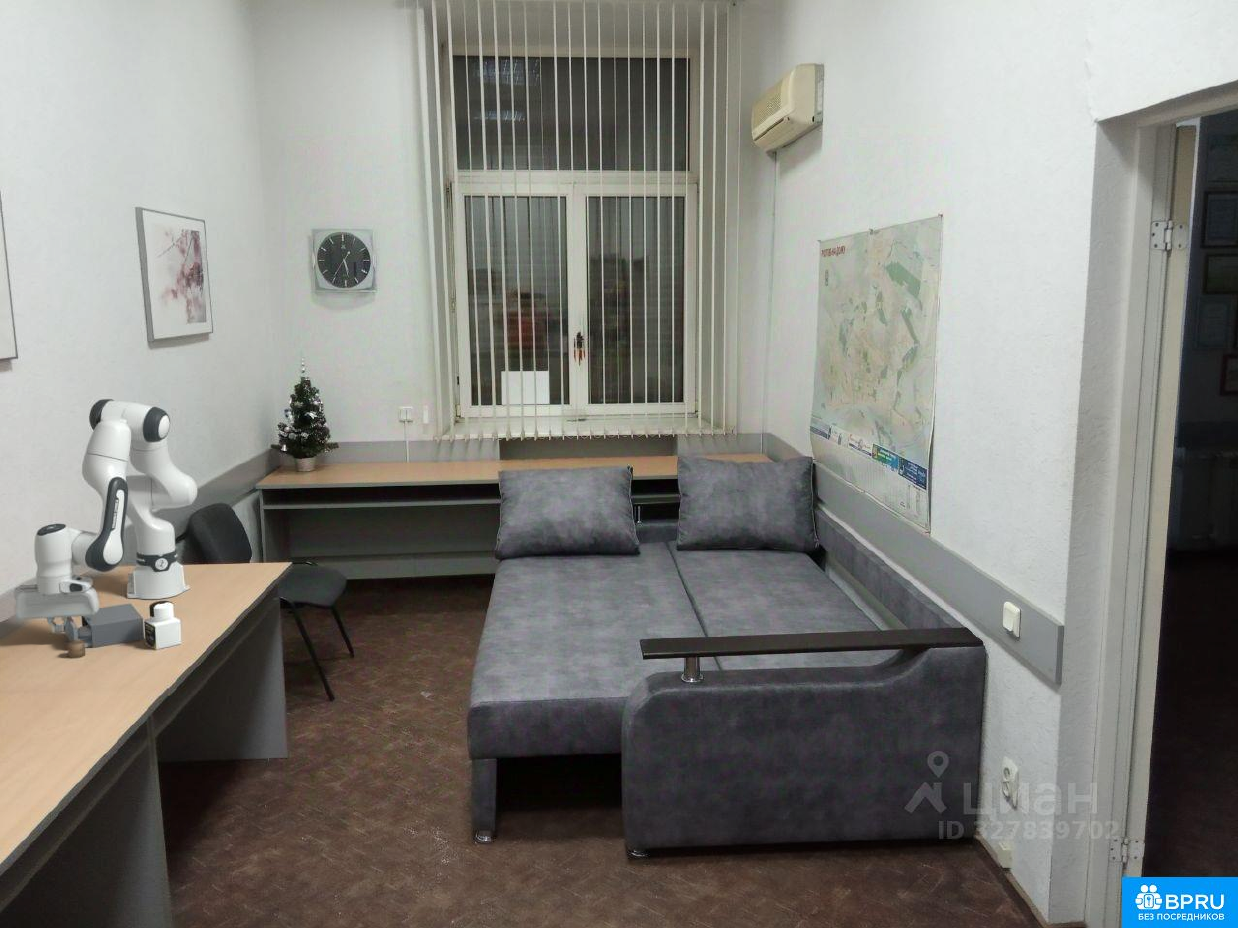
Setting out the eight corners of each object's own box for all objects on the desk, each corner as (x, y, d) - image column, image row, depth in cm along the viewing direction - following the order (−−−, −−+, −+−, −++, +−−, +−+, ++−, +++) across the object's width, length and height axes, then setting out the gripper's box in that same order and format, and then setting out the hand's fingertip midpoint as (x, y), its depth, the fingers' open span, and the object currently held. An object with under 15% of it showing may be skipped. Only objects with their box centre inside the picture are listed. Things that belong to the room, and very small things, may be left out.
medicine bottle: (145, 643, 278) (142, 602, 276) (170, 637, 283) (168, 597, 281) (155, 650, 273) (153, 608, 271) (181, 644, 278) (179, 602, 276)
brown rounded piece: (67, 654, 268) (66, 642, 267) (84, 651, 270) (83, 639, 270) (69, 659, 265) (68, 646, 264) (86, 656, 267) (85, 643, 267)
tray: (65, 634, 283) (63, 612, 282) (116, 625, 291) (114, 604, 290) (74, 650, 271) (73, 627, 270) (127, 641, 279) (126, 619, 278)
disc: (76, 633, 281) (76, 626, 280) (102, 629, 284) (101, 622, 284) (79, 640, 276) (78, 633, 275) (105, 636, 279) (104, 629, 279)
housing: (82, 631, 286) (80, 610, 285) (131, 623, 294) (130, 603, 293) (92, 647, 273) (91, 626, 272) (144, 639, 281) (142, 617, 280)
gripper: (9, 588, 267) (13, 637, 270) (92, 585, 272) (96, 633, 275) (17, 582, 273) (20, 630, 276) (98, 578, 278) (101, 626, 281)
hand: (59, 631), depth 275 cm, fingers closed
